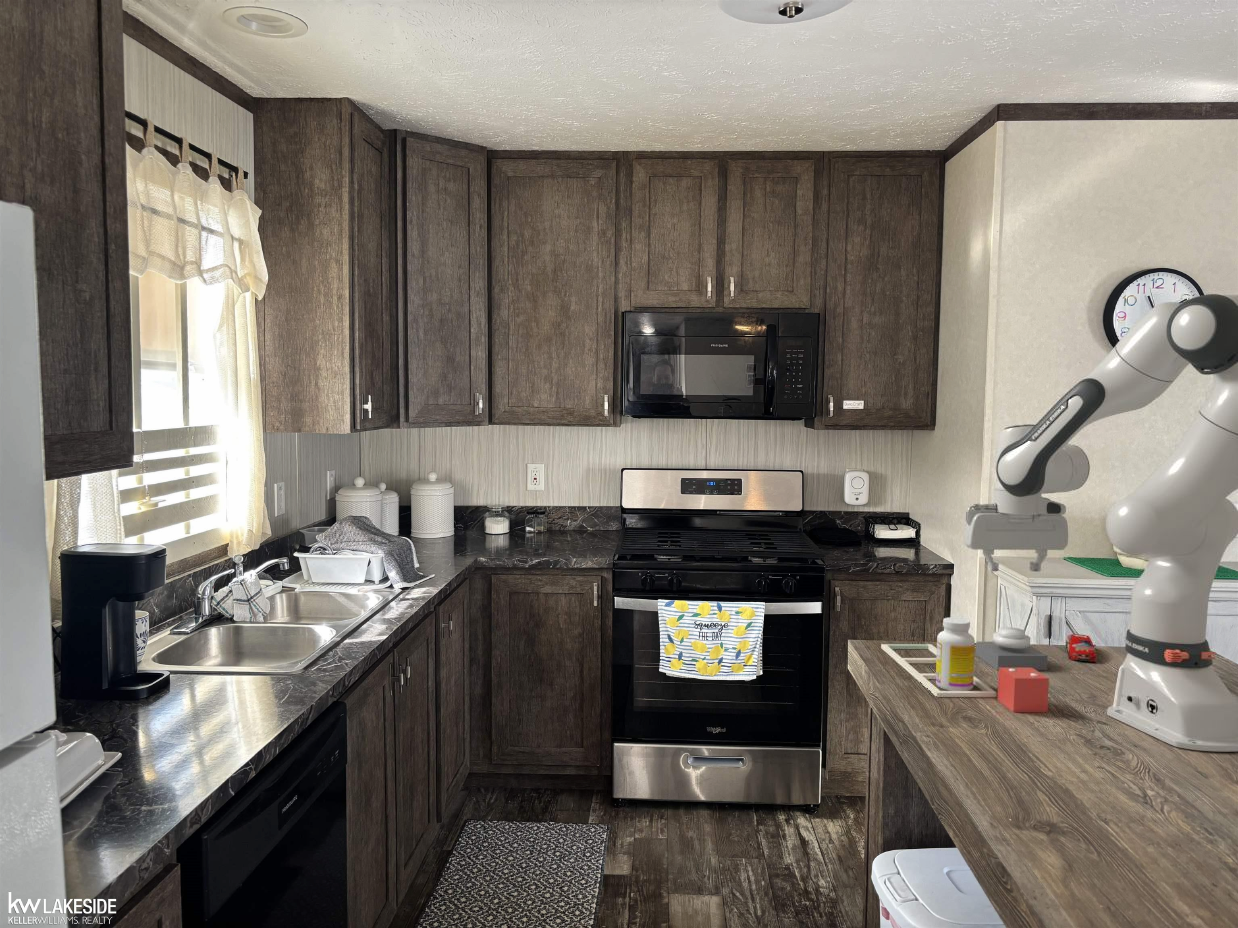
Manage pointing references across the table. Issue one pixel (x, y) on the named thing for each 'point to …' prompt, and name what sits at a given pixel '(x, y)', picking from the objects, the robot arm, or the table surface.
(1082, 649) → the race car
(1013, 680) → the die
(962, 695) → the track
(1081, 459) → the robot arm
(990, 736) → the table surface
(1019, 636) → the dome
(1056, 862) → the table surface
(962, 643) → the supplement bottle
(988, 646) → the dome base
